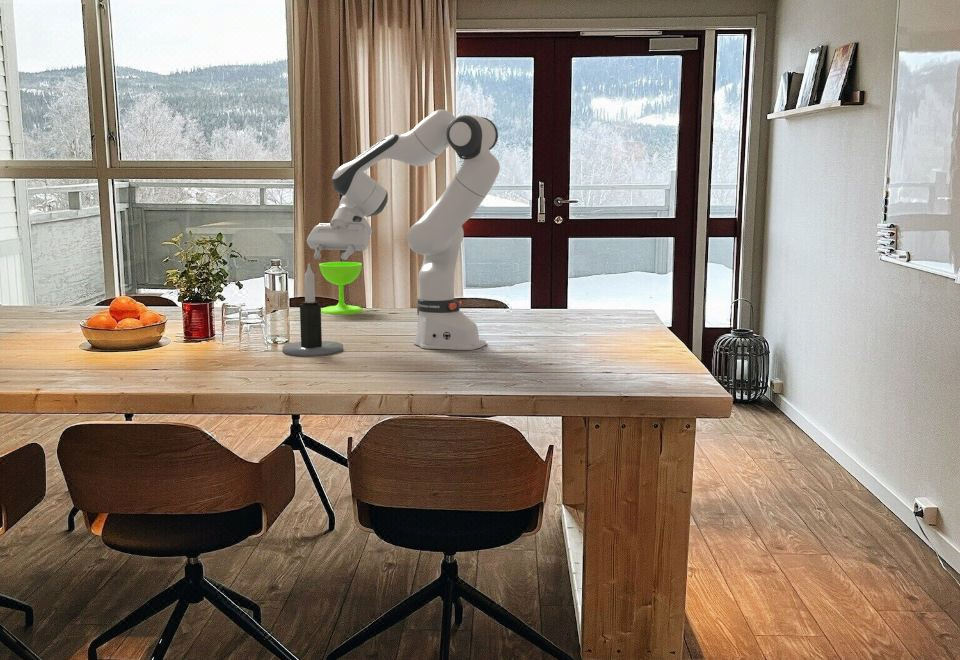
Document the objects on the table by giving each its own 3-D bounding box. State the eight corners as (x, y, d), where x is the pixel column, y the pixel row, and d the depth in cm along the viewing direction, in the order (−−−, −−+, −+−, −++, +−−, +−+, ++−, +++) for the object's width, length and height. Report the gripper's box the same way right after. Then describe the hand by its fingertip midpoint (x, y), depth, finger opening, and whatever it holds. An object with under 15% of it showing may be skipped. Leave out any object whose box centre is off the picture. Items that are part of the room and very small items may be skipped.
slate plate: (354, 347, 284) (353, 343, 284) (323, 358, 267) (323, 354, 267) (303, 342, 290) (303, 339, 290) (270, 353, 274) (270, 349, 274)
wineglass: (356, 315, 344) (354, 266, 341) (314, 313, 346) (313, 265, 343) (367, 308, 359) (366, 262, 356) (328, 307, 362) (326, 261, 359)
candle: (309, 348, 275) (306, 264, 271) (299, 346, 279) (296, 263, 274) (323, 346, 279) (321, 263, 274) (313, 343, 282) (310, 262, 278)
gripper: (312, 216, 293) (296, 250, 286) (369, 218, 285) (355, 252, 278) (320, 230, 298) (304, 263, 290) (376, 231, 290) (362, 266, 283)
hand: (329, 258), depth 284 cm, fingers open, 8 cm apart
